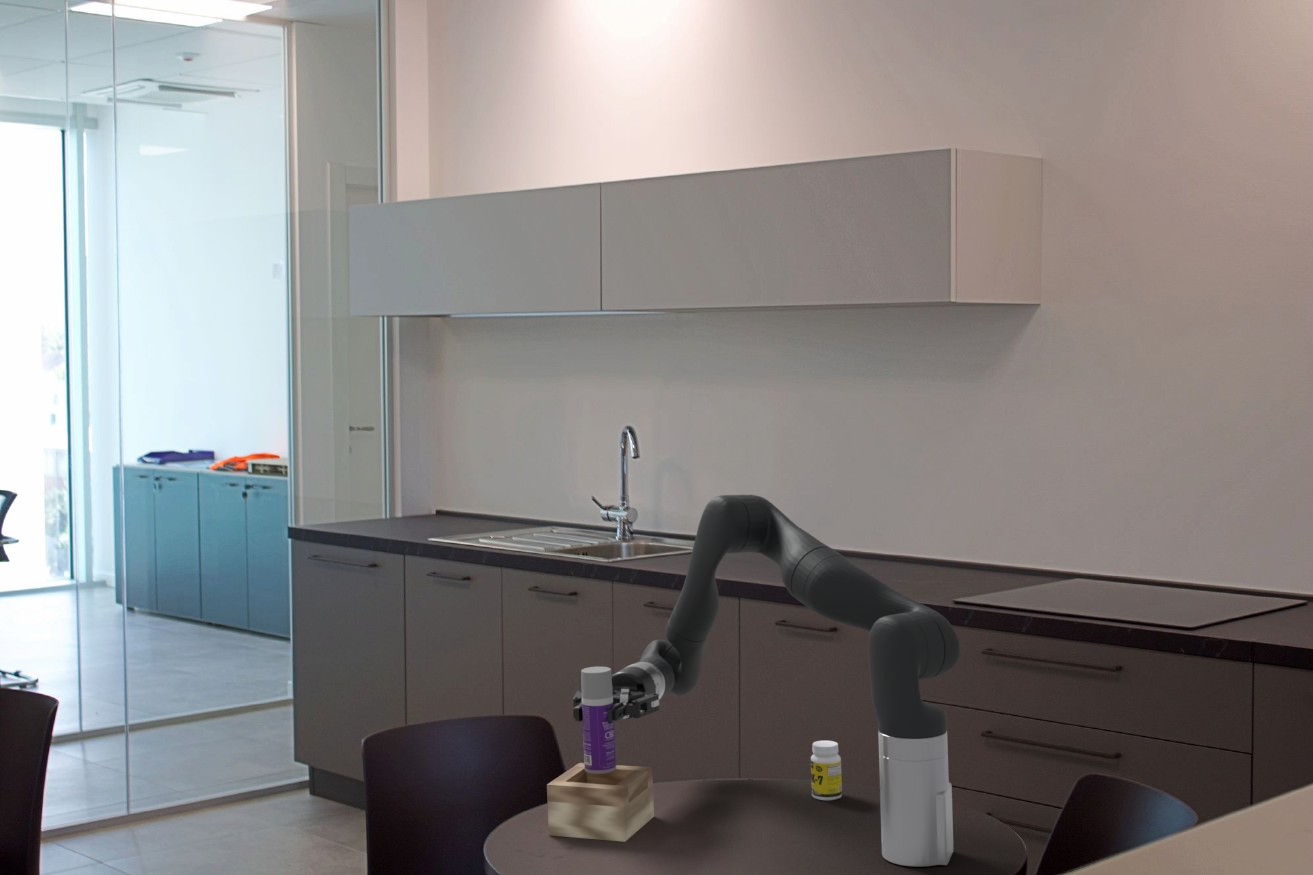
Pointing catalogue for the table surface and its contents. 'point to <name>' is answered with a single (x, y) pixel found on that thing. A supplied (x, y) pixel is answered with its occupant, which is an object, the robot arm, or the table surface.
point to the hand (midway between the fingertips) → (593, 715)
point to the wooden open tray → (600, 803)
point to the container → (597, 720)
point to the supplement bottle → (826, 771)
